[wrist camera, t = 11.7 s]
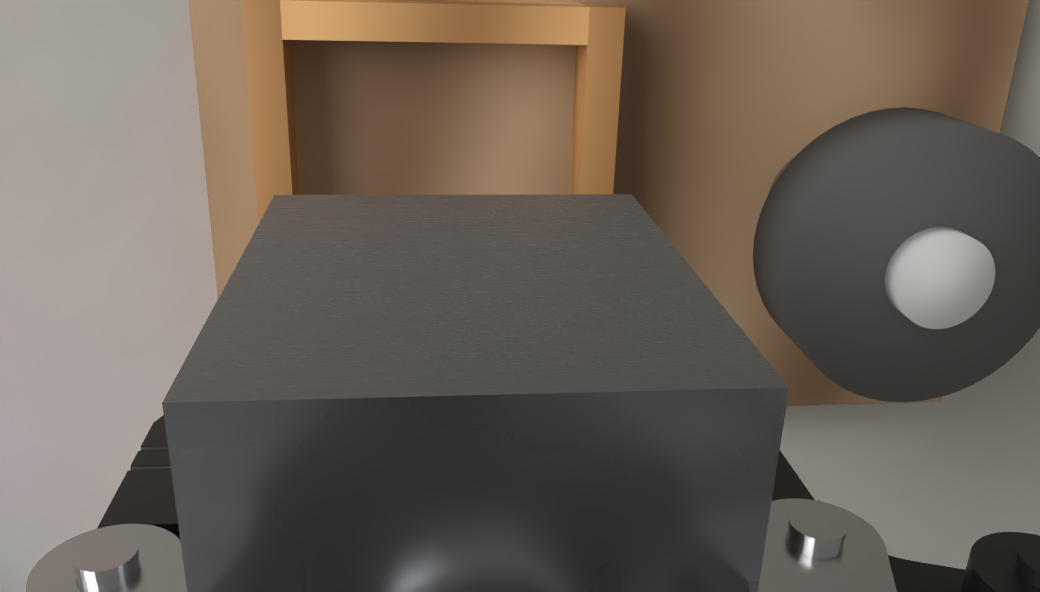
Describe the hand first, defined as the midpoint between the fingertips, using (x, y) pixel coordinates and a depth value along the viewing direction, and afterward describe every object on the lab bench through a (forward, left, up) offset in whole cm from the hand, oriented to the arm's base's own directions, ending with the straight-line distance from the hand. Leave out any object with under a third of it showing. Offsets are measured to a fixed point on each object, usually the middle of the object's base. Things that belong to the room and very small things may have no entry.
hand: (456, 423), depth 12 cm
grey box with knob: (0, 0, -1) cm, 1 cm away
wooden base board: (+4, 0, -13) cm, 13 cm away
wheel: (+10, 0, -8) cm, 13 cm away
